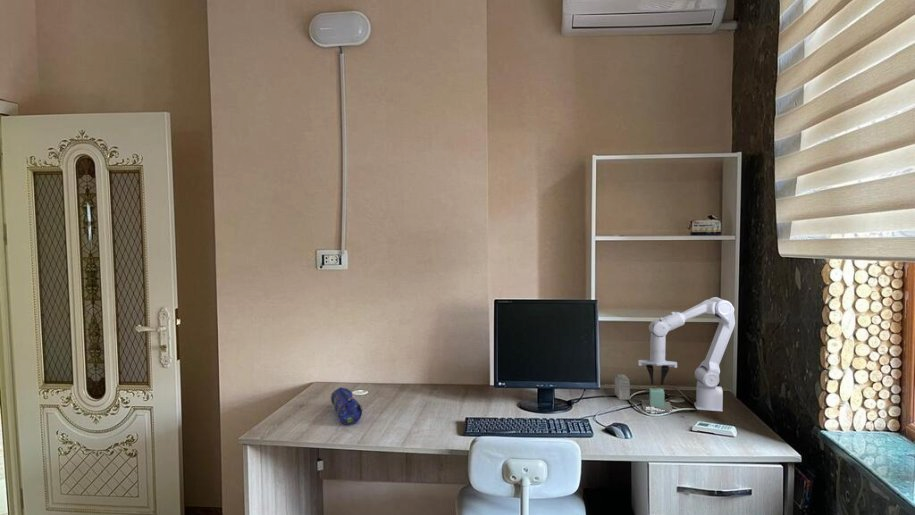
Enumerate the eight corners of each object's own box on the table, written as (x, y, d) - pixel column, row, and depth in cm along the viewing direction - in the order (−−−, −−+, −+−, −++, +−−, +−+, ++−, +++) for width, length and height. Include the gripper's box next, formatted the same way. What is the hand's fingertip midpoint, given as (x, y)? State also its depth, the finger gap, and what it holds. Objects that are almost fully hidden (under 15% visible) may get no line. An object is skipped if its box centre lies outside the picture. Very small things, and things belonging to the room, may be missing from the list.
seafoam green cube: (662, 403, 227) (663, 388, 226) (664, 407, 222) (664, 392, 221) (649, 402, 228) (649, 387, 227) (650, 406, 223) (650, 391, 222)
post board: (669, 403, 229) (669, 392, 228) (672, 412, 218) (673, 400, 218) (641, 401, 231) (641, 390, 231) (643, 410, 221) (643, 398, 220)
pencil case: (363, 425, 207) (362, 399, 207) (339, 428, 204) (339, 402, 203) (351, 406, 228) (351, 383, 227) (330, 409, 225) (329, 385, 224)
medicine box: (629, 400, 234) (630, 379, 233) (619, 400, 234) (619, 379, 233) (624, 394, 242) (625, 374, 241) (614, 394, 242) (614, 374, 241)
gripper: (639, 351, 221) (638, 385, 222) (678, 353, 217) (677, 388, 218) (638, 347, 228) (637, 380, 229) (676, 349, 224) (675, 383, 225)
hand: (657, 384), depth 224 cm, fingers open, 3 cm apart
